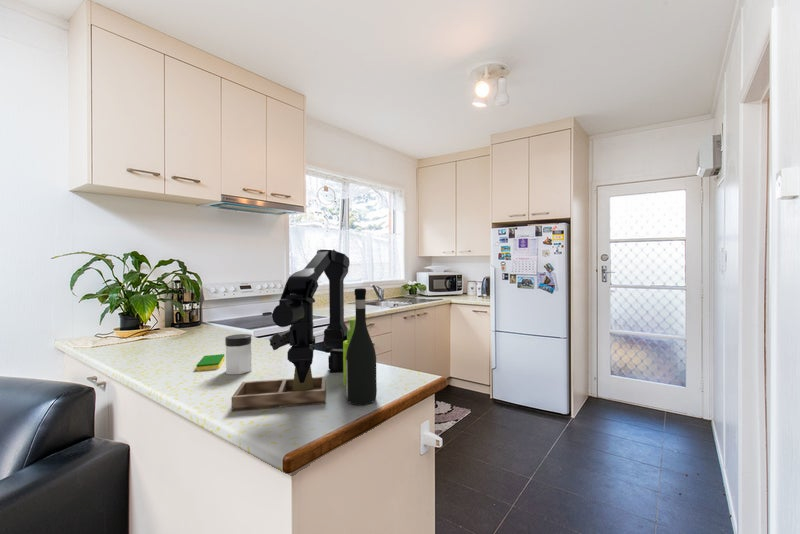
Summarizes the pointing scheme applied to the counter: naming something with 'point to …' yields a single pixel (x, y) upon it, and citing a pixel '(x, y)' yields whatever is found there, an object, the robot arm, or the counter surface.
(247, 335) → the jar
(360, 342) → the wine bottle
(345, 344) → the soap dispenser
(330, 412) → the counter surface
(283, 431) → the counter surface
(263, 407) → the holder
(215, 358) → the dish sponge
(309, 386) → the cork
